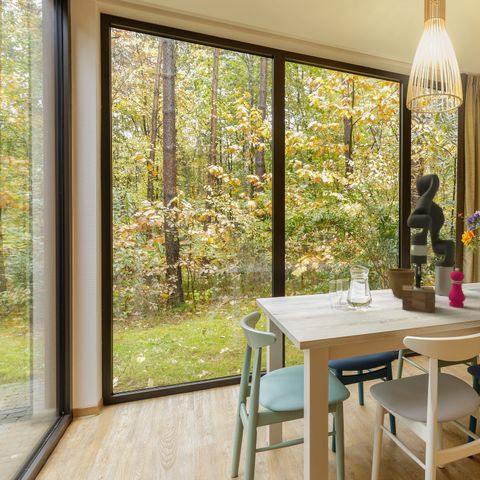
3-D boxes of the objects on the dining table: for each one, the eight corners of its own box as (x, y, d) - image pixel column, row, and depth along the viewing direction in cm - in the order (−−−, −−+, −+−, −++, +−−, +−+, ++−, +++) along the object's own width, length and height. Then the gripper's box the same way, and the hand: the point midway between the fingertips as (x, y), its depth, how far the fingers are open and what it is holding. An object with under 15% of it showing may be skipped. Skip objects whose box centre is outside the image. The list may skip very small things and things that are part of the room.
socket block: (402, 303, 170) (402, 284, 169) (432, 306, 163) (432, 287, 163) (402, 309, 157) (402, 289, 157) (434, 312, 151) (435, 292, 150)
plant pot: (415, 295, 187) (416, 269, 186) (414, 301, 174) (414, 272, 173) (388, 292, 195) (388, 267, 194) (385, 297, 182) (385, 270, 181)
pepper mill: (467, 308, 158) (468, 269, 157) (451, 307, 160) (452, 268, 159) (460, 304, 165) (461, 267, 164) (445, 304, 167) (446, 267, 166)
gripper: (410, 252, 166) (409, 284, 167) (410, 255, 155) (409, 289, 156) (426, 253, 163) (425, 285, 164) (428, 255, 151) (427, 290, 152)
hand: (418, 287), depth 160 cm, fingers closed
